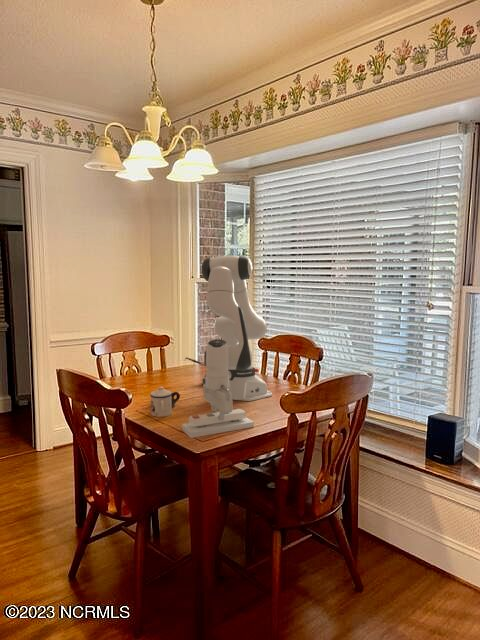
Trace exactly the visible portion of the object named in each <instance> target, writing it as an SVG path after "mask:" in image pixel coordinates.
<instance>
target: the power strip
mask: <svg viewBox="0 0 480 640" xmlns="http://www.w3.org/2000/svg"><path fill="white" fill-rule="evenodd" d="M219 413H220V412H219V411H218V412H216V413H212V412H211V413H210V412H209V413H203V414H196V415H191V416H188V423H189V424H190V425H192V426H193V427H195V426H198V428H201V427H204V425H207V424H213V423H219V422H225V421H232V422H237V419H244V418H246V417H247V411H246V410H243V409H242V408H237V409H233V410H232V412H230V413H225V415H224V420H222V421H220V420H219V419H218V415H219Z"/></svg>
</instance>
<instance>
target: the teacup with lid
mask: <svg viewBox="0 0 480 640" xmlns="http://www.w3.org/2000/svg"><path fill="white" fill-rule="evenodd" d="M172 393H173V392H172V391H170V390H168V389H165V388H164V386H159V387H158V388H157V389H155V390H153V391H151V392H150V393H149V396H150V415H151V416H153V417H156V418H163V417H168V416H170V415H172V412H173V411H172V410H173V409H172V408H173V407H172V402H171V395H172Z"/></svg>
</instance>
